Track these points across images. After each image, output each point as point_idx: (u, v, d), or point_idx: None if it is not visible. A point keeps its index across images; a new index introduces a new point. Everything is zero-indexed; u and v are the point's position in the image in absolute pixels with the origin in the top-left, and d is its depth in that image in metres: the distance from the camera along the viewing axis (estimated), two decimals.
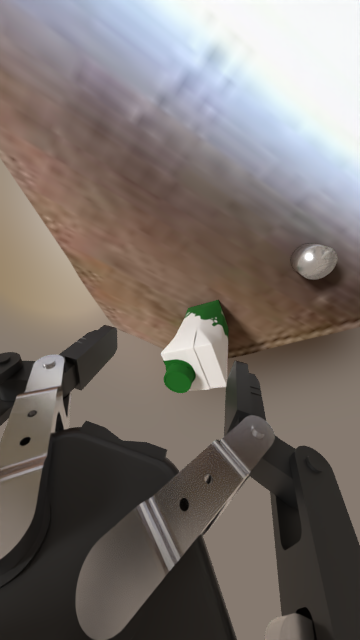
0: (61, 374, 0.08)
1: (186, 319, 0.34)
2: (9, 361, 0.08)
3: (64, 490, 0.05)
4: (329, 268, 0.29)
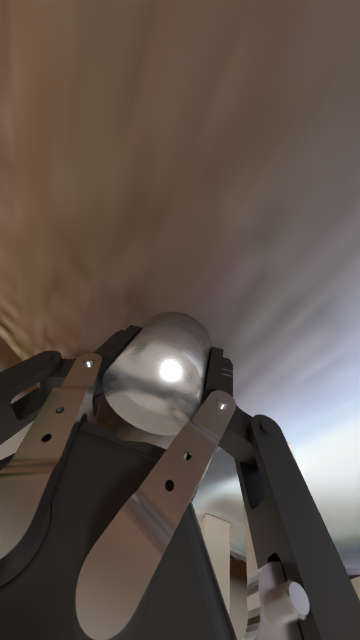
0: (96, 374, 0.08)
1: None
2: (52, 359, 0.09)
3: (67, 503, 0.05)
4: (139, 422, 0.10)
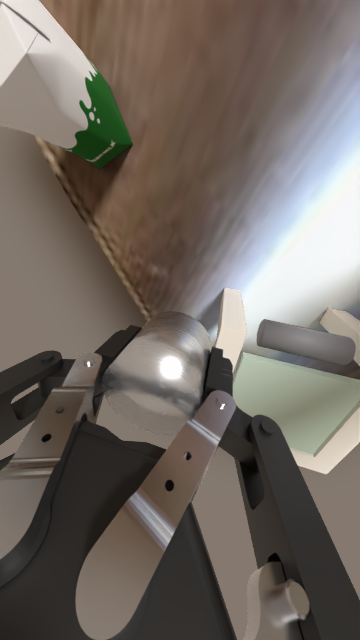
0: (96, 374, 0.08)
1: (78, 49, 0.19)
2: (52, 359, 0.09)
3: (67, 503, 0.05)
4: (139, 422, 0.10)
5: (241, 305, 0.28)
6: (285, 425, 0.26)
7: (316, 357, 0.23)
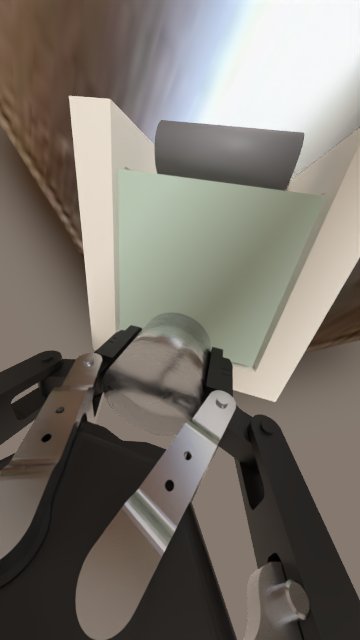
0: (95, 374, 0.08)
1: None
2: (52, 359, 0.09)
3: (67, 502, 0.05)
4: (139, 423, 0.10)
5: (152, 144, 0.19)
6: (206, 314, 0.17)
7: (242, 172, 0.14)
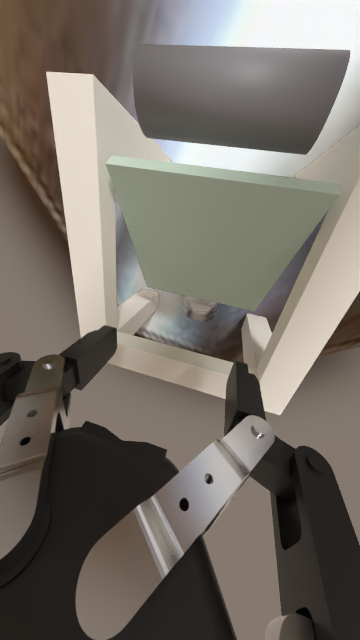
0: (61, 374, 0.08)
1: None
2: (9, 361, 0.08)
3: (64, 490, 0.05)
4: None
5: None
6: (215, 280, 0.20)
7: (250, 141, 0.11)
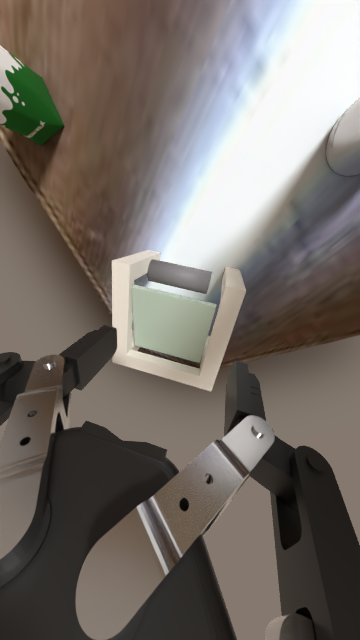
0: (61, 374, 0.08)
1: (1, 49, 0.27)
2: (9, 361, 0.08)
3: (64, 490, 0.05)
4: None
5: (147, 257, 0.36)
6: (175, 341, 0.36)
7: (186, 288, 0.31)
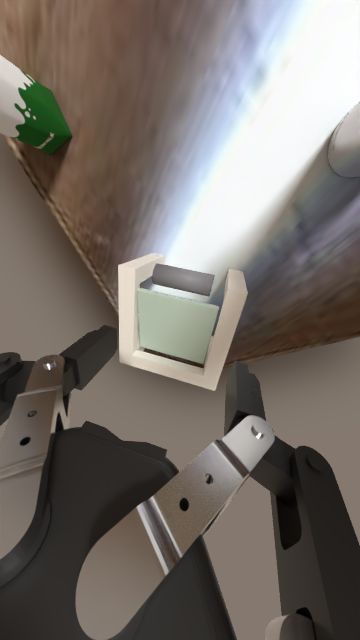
0: (61, 374, 0.08)
1: (14, 67, 0.28)
2: (9, 361, 0.08)
3: (64, 490, 0.05)
4: None
5: (151, 260, 0.37)
6: (179, 342, 0.37)
7: (190, 290, 0.32)
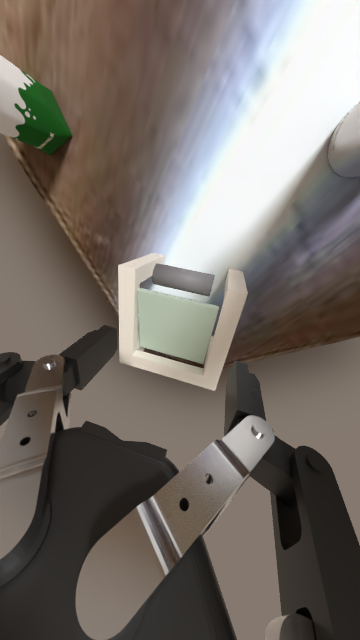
0: (61, 374, 0.08)
1: (14, 67, 0.28)
2: (9, 361, 0.08)
3: (64, 490, 0.05)
4: None
5: (151, 260, 0.37)
6: (179, 342, 0.37)
7: (190, 290, 0.32)
